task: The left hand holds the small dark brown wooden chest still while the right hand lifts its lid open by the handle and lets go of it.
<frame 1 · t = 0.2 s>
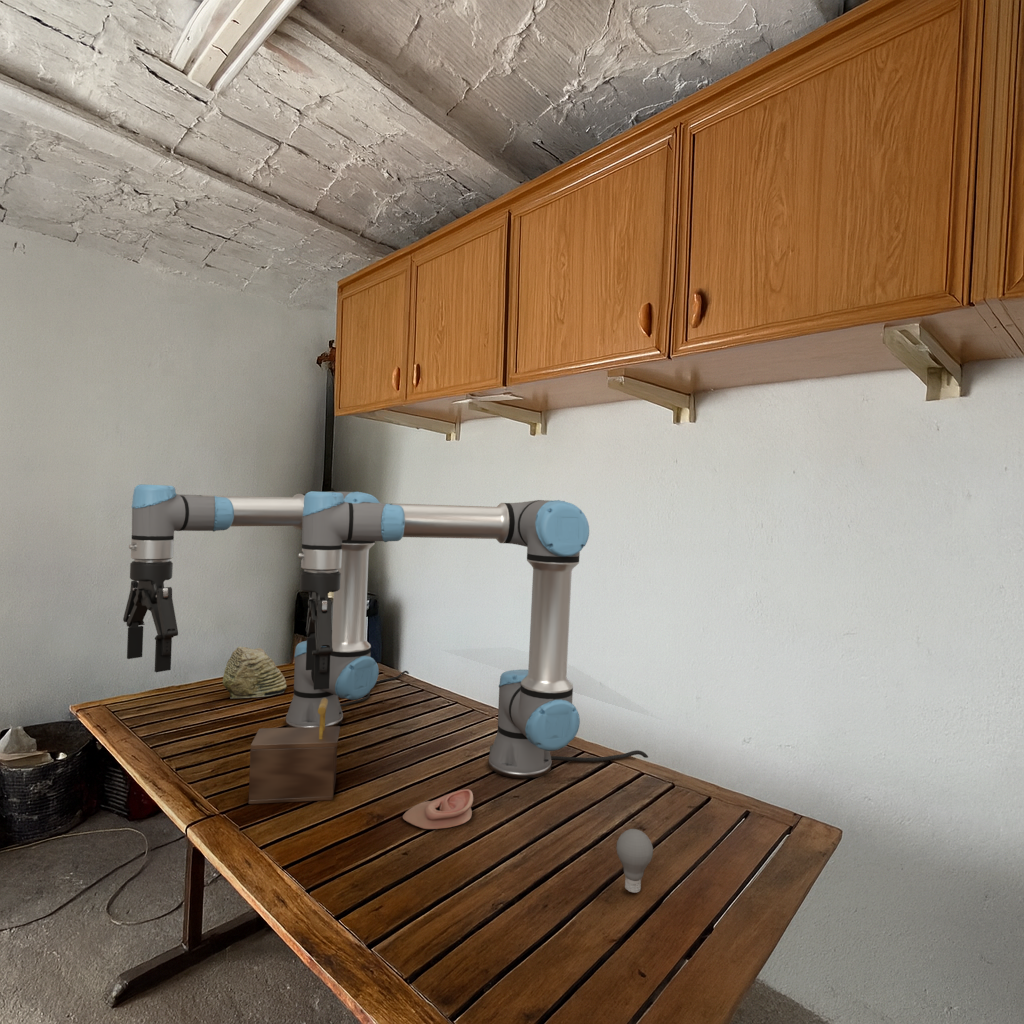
left hand: (148, 664, 129), 28 cm above the table, tool pointing down, fingers open, 13 cm apart
right hand: (316, 678, 124), 28 cm above the table, tool pointing down, fingers open, 13 cm apart
chest: (294, 791, 136), on the table
anatomical model: (438, 816, 128), on the table
fossil: (254, 694, 198), on the table
lid: (297, 721, 135), point 15 cm above the table, hinge at 0.0°
light bulb: (632, 891, 106), on the table
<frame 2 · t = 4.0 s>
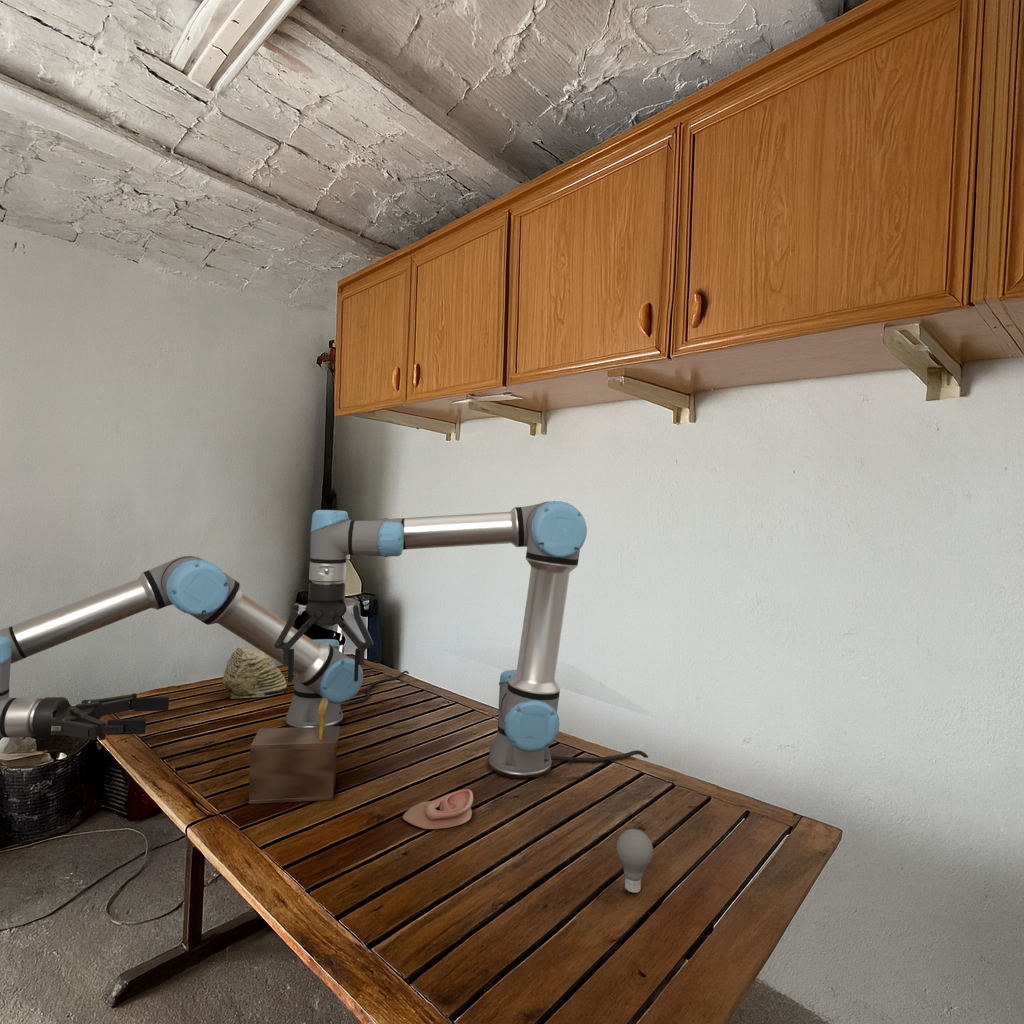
left hand: (157, 714, 130), 17 cm above the table, tool horizontal, fingers open, 13 cm apart
right hand: (323, 680, 136), 24 cm above the table, tool pointing down, fingers open, 13 cm apart
nothing on the table moved.
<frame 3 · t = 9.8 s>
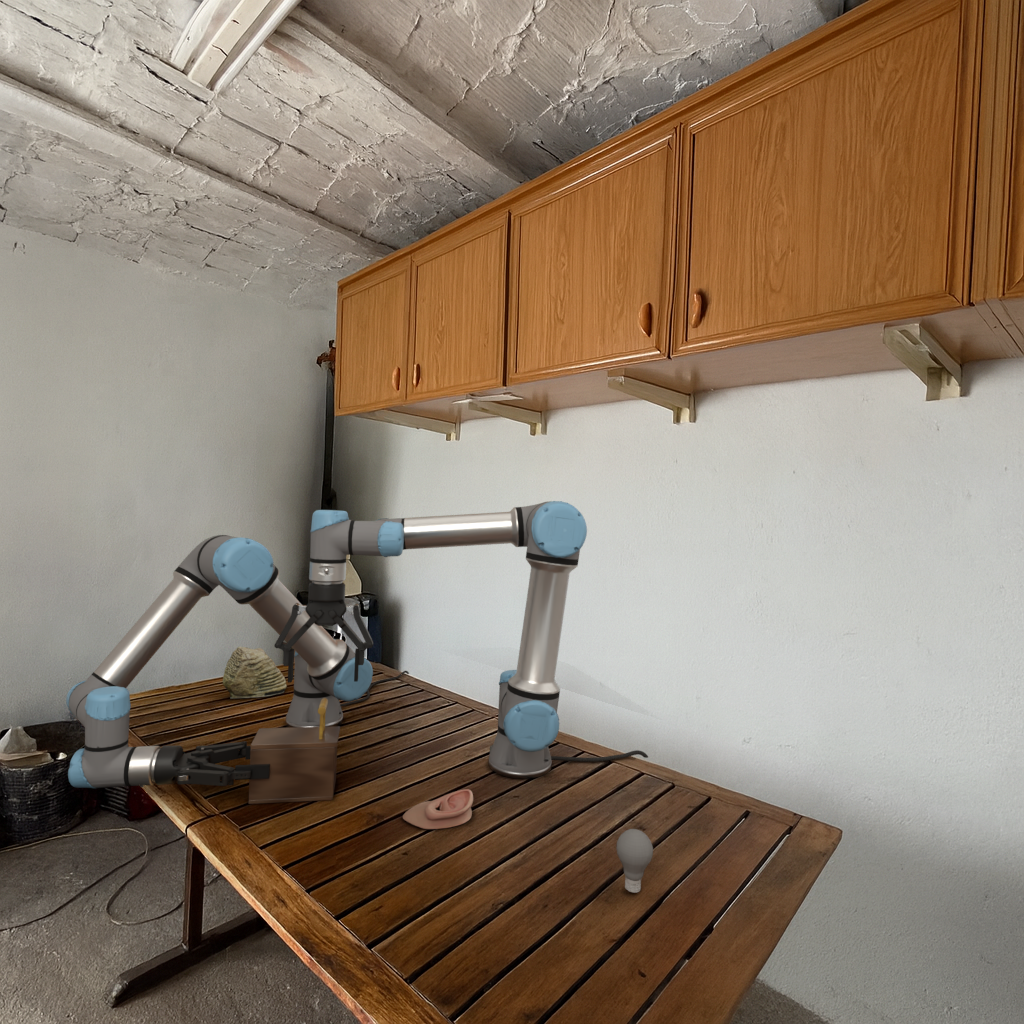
left hand: (273, 761, 135), 7 cm above the table, tool horizontal, fingers closed on chest, 9 cm apart
right hand: (323, 680, 136), 24 cm above the table, tool pointing down, fingers open, 13 cm apart
chest: (294, 791, 136), on the table, touching left hand
everything else where it was.
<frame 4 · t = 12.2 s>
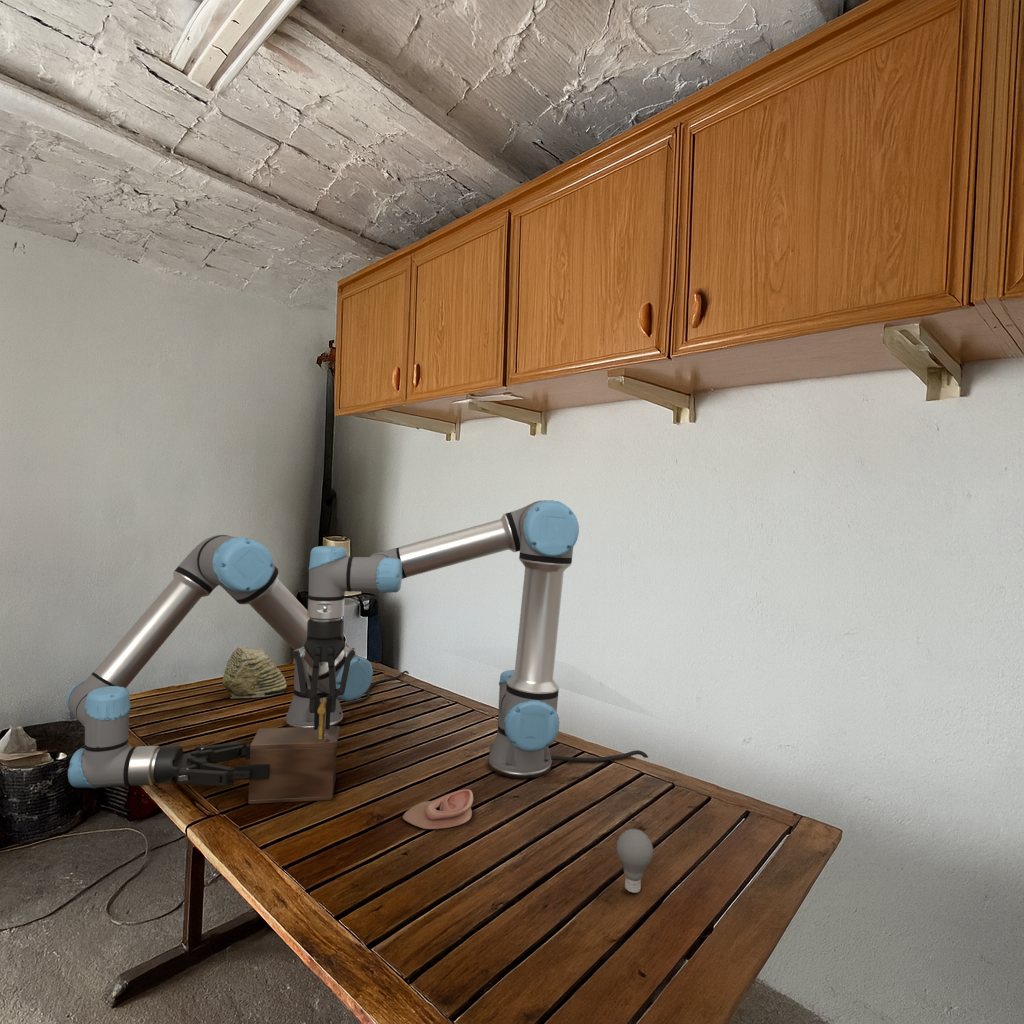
left hand: (273, 761, 135), 7 cm above the table, tool horizontal, fingers closed on chest, 9 cm apart
right hand: (322, 727, 136), 14 cm above the table, tool pointing down, fingers closed on lid, 2 cm apart
chest: (293, 791, 136), on the table, touching left hand
lid: (297, 721, 135), point 15 cm above the table, hinge at 0.1°, touching right hand
everything else where it was.
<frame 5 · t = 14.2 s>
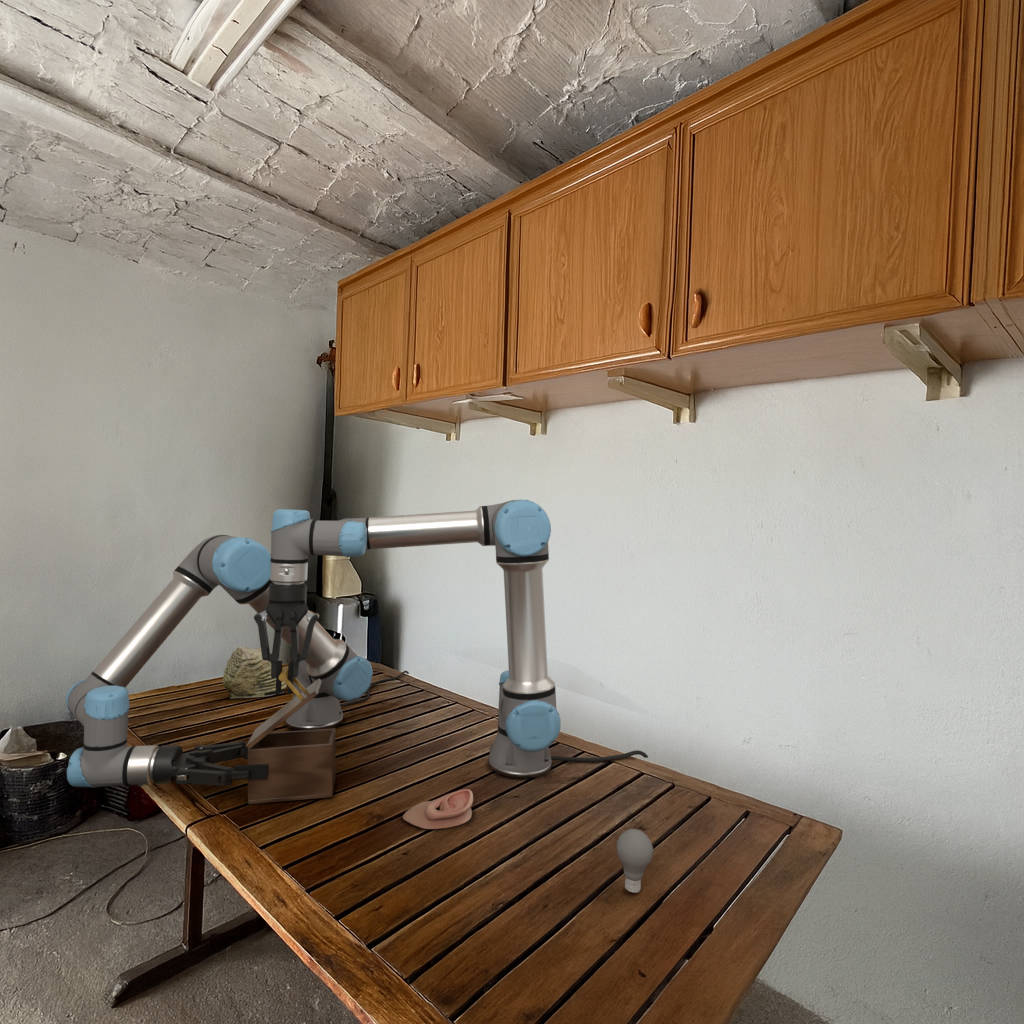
left hand: (272, 761, 134), 7 cm above the table, tool horizontal, fingers closed on chest, 9 cm apart
right hand: (284, 692, 135), 21 cm above the table, tool pointing down, fingers closed on lid, 2 cm apart
chest: (293, 790, 136), on the table, touching left hand
lid: (274, 700, 134), point 20 cm above the table, hinge at 38.2°, touching right hand
everything else where it was.
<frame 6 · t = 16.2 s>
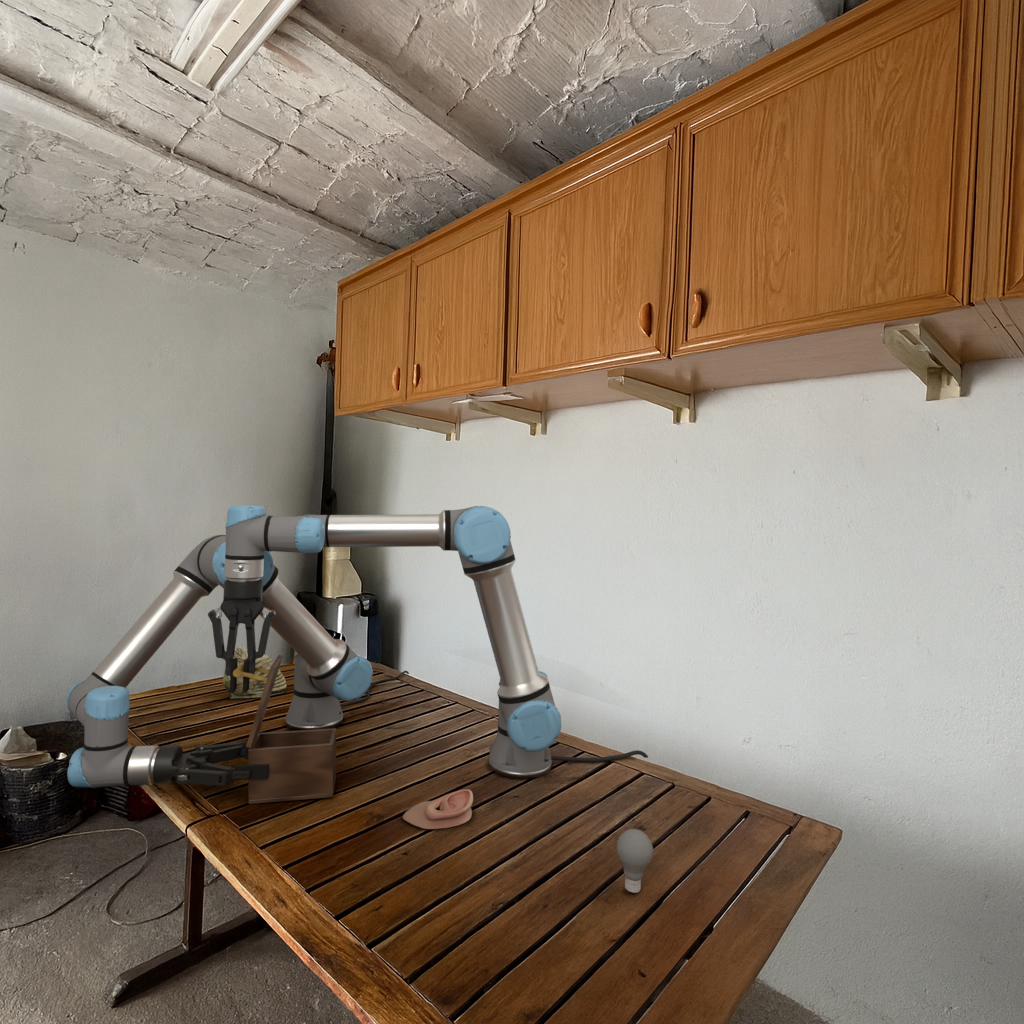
left hand: (272, 761, 135), 7 cm above the table, tool horizontal, fingers closed on chest, 9 cm apart
right hand: (239, 690, 133), 22 cm above the table, tool pointing down, fingers closed
chest: (294, 790, 136), on the table, touching left hand
lid: (248, 695, 133), point 21 cm above the table, hinge at 73.4°
everything else where it was.
when the left hand's fingers open (7 cm above the table, at t = 20.2 s): chest stays where it is, on the table.
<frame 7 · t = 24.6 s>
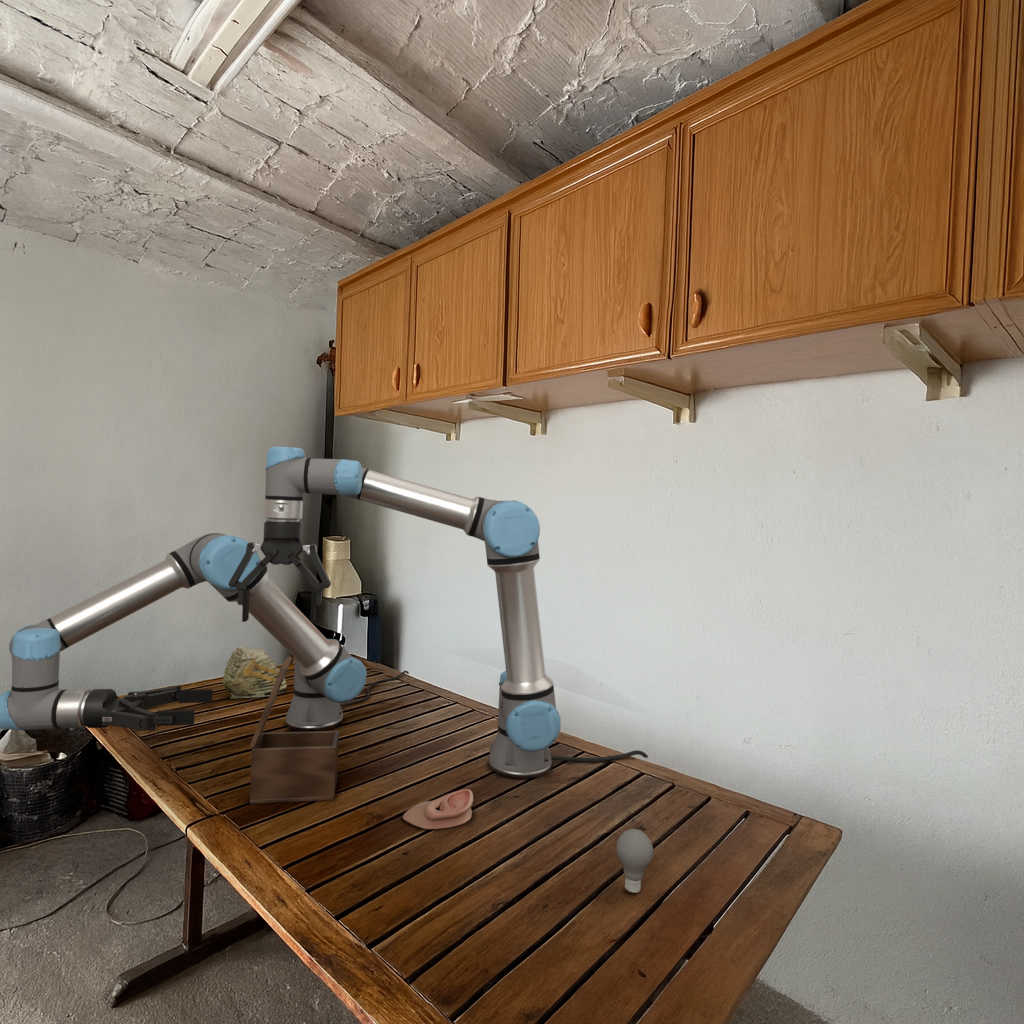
left hand: (203, 706, 131), 19 cm above the table, tool horizontal, fingers open, 13 cm apart
right hand: (279, 620, 134), 37 cm above the table, tool pointing down, fingers open, 13 cm apart
chest: (295, 791, 136), on the table
lid: (255, 695, 134), point 21 cm above the table, hinge at 71.0°
everything else where it was.
at the end: lid at +71° (first picture: +0°); the left hand is holding nothing; the right hand is holding nothing; chest tilted 0°; chest never tilted more than 3° during the clip; chest moved 0.2 cm from its start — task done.
